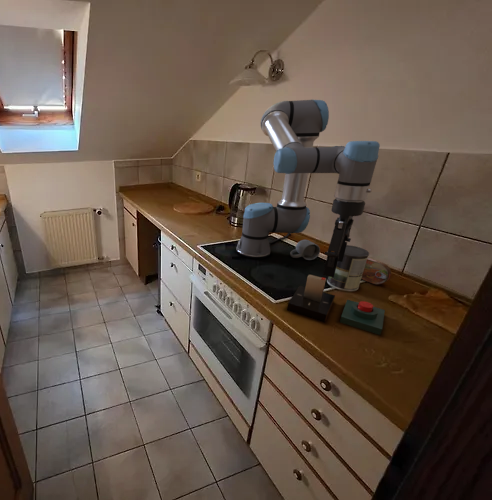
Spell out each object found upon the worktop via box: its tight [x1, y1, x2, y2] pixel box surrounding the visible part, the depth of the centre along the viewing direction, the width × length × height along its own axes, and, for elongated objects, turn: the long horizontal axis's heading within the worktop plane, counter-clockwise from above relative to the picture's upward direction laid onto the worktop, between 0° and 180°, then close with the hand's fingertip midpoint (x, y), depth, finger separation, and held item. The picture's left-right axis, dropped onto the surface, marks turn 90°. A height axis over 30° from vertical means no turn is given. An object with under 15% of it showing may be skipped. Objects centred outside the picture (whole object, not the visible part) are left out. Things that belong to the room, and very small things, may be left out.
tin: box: [361, 257, 392, 285], centre depth 114 cm, size 15×3×8 cm, turn 24°
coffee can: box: [326, 244, 370, 292], centre depth 109 cm, size 10×10×14 cm
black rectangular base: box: [286, 285, 336, 323], centre depth 99 cm, size 14×11×3 cm
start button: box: [358, 300, 374, 312], centre depth 91 cm, size 4×4×2 cm
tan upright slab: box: [303, 274, 327, 302], centre depth 97 cm, size 5×2×8 cm, turn 50°
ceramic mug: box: [289, 239, 321, 261], centre depth 134 cm, size 11×8×8 cm
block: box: [339, 299, 385, 336], centre depth 92 cm, size 12×10×4 cm
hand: (333, 267), depth 91 cm, fingers open, 13 cm apart
